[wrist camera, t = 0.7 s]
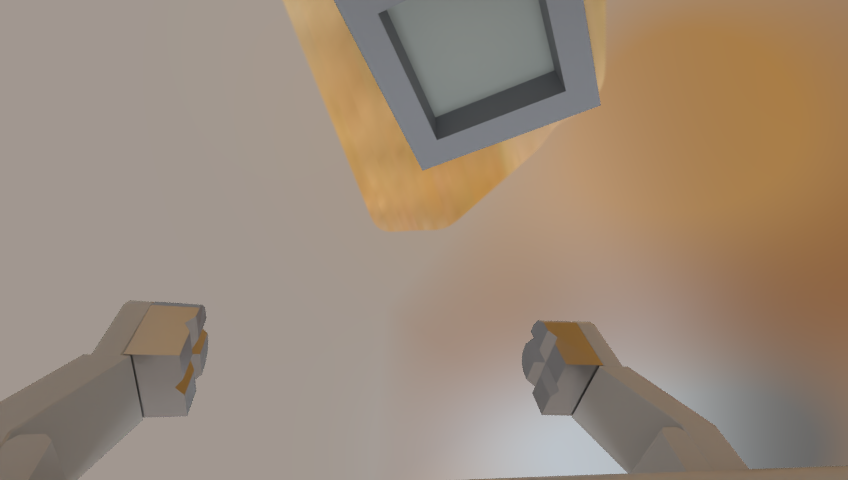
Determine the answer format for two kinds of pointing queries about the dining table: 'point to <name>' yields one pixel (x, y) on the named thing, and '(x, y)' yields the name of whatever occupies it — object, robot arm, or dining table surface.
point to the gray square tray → (474, 68)
